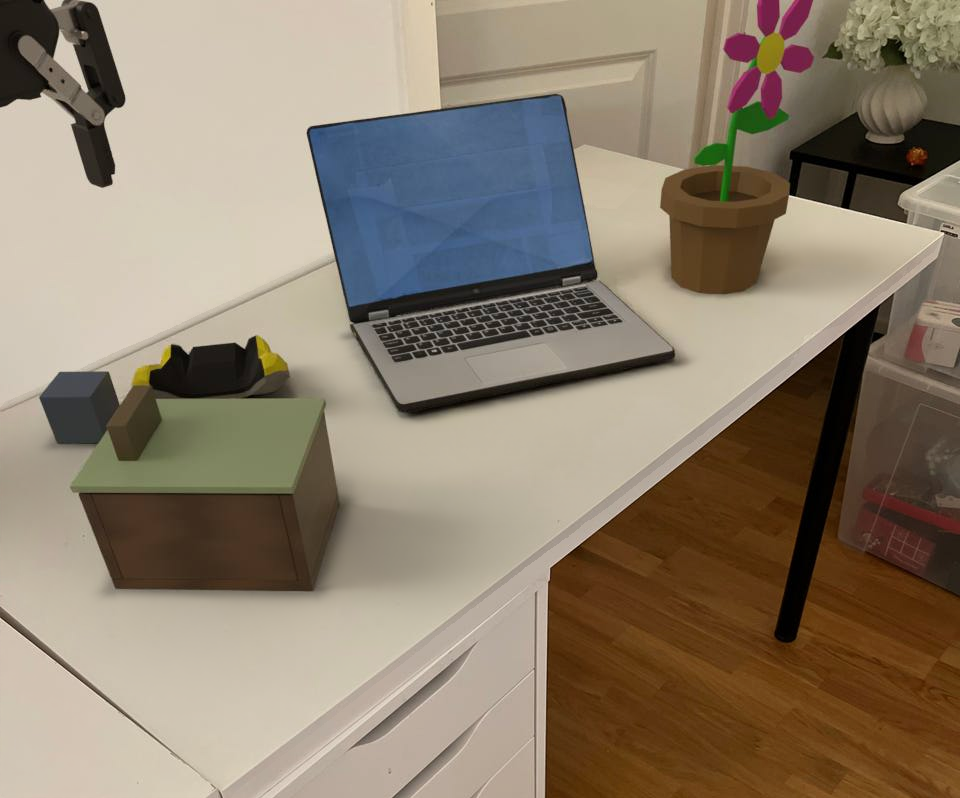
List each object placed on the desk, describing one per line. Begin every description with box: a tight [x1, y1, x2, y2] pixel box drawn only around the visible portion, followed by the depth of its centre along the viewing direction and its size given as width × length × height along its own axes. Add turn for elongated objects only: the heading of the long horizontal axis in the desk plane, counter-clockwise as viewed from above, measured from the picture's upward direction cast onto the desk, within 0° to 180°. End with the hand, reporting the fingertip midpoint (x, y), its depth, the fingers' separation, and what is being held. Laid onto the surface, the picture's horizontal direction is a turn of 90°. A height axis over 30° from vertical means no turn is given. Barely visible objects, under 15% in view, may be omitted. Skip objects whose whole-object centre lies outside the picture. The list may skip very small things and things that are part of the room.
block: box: [38, 370, 121, 444], centre depth 93 cm, size 5×5×5 cm
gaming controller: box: [131, 334, 291, 399], centre depth 97 cm, size 15×6×10 cm
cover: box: [69, 385, 327, 494], centre depth 73 cm, size 16×13×4 cm
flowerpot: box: [659, 0, 815, 295], centre depth 105 cm, size 14×14×30 cm
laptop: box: [306, 93, 676, 414], centre depth 102 cm, size 30×32×18 cm
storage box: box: [78, 411, 340, 592], centre depth 77 cm, size 16×12×9 cm
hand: (44, 203), depth 64 cm, fingers open, 8 cm apart
